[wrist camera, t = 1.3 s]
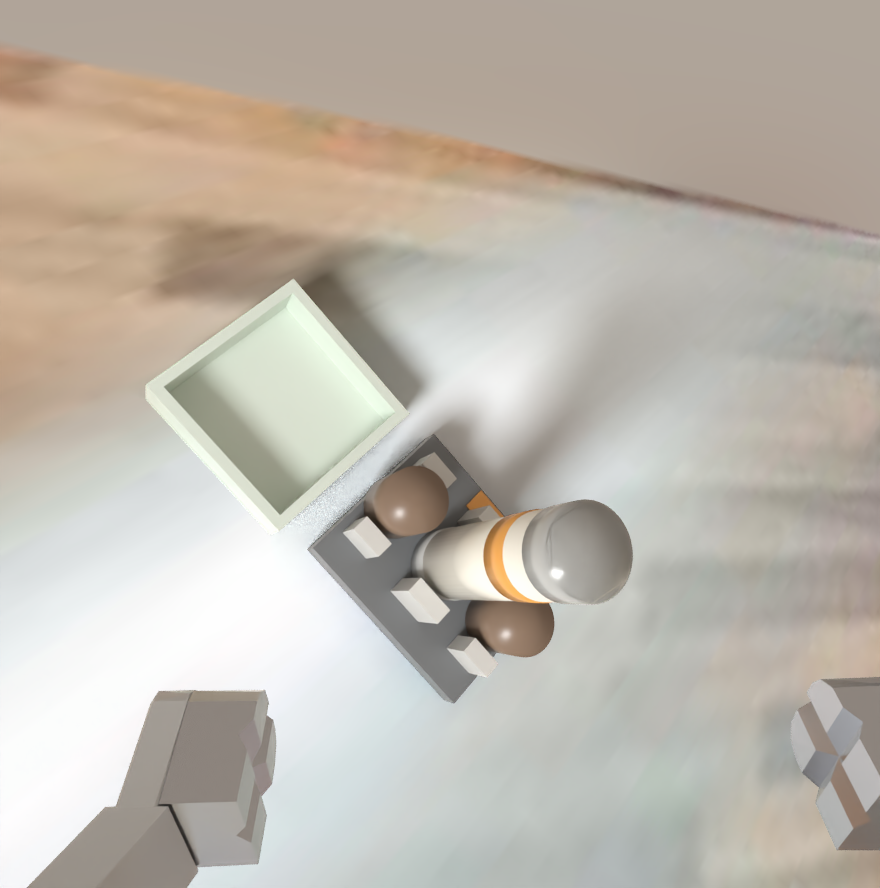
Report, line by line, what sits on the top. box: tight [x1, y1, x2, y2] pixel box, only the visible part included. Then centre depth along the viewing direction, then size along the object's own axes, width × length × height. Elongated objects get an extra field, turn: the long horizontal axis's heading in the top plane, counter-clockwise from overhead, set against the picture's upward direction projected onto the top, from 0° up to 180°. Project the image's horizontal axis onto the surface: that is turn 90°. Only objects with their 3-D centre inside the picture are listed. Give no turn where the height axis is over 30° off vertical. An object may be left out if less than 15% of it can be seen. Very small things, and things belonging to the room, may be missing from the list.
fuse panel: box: [307, 434, 505, 703], centre depth 41 cm, size 12×10×4 cm
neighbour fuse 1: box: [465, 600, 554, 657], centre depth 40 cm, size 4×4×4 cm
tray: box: [146, 279, 410, 535], centre depth 39 cm, size 10×10×3 cm
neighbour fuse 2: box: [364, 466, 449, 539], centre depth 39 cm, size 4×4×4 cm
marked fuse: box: [411, 500, 633, 605], centre depth 34 cm, size 4×4×15 cm
